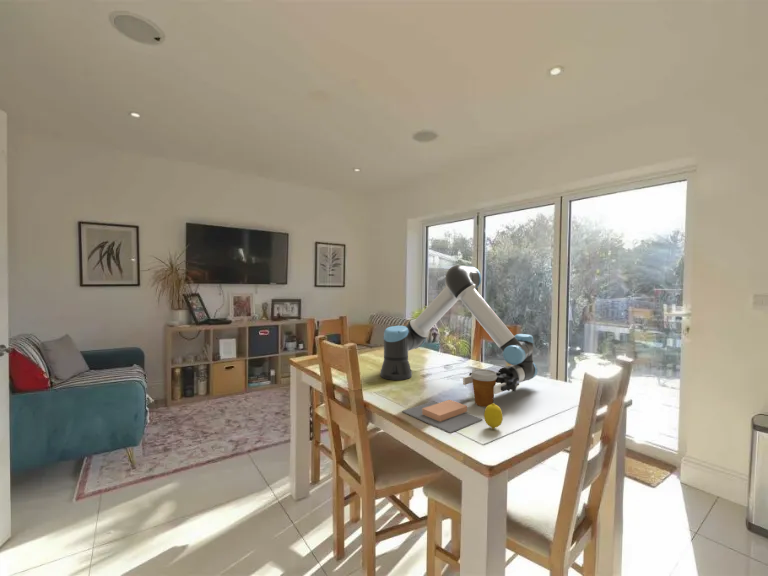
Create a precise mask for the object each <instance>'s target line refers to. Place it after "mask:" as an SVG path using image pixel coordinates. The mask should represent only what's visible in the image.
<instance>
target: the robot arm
mask: <svg viewBox="0 0 768 576" xmlns="http://www.w3.org/2000/svg"><path fill="white" fill-rule="evenodd" d="M481 284H482V273H481V272H480V271H479V269H478V268H476V267H475V266H472V265H463V264H462V265H461V264H455V265H453V266H452V267H450V268H449V269H447V271H446V274H445V287H444V288H443V289H442V290H441V291H440V292H439V293H438V295H437V296H436V297H435V298H434V299H433V300H432V301H431V302H429V304H428V305H427V306H426V308H424V310H423V311H422V312H421V313H420V314H419V315H418V316H417V317H416V318H415V319H413V318H412V319H411V320H410V321H408V323H407V324H406V325H395V326H393V325H392V326H388V327H386V328H385V329H384V331H383V362H382V365H381V369H380V371H379V374H380V375H379V376H380V377H381V378H382V379H386V380H388V381H403V380H409V379H410V378H412V376H413V373H412V372H413V371H412V369H411V365H410V361H409V351H412V350H415V349H416V350H417V349H418V348H420V347H421V346H423V345H424V344H425V342H426V341H427V338H428V336H429V333H430V330H431V329H432V328H433V327H434V326H435V325H436V324H437V323H438V322H439V321H440V320H441V319H442V318H443V316H444V315H445V314H446V313H448V311H449V310H451V308H452V307H454V306H455V304H456V303H458V301H461V302H462V303H463V305H464V306H465V307H466V308H467V310H468V311H469V312H470V313H471V315H472V316H473V317H474V318H475V319H476V321H477V322H478V323H479V324H480V326H481V327H482V328H483V329H484V331H485V332H486V333H487V334H488V335H489V337H490V338H491V340H492V341H493V342H494V343H495V344H496V346H497V347H498V348H499V349H500V351H501V352H502V357H503V360H504V361H505V362H506V363H507V364H509V365H507V366H504V367H500V369H499V370H498V371H497V372H496V371H495V372H496V375H497V379H496V384H495V386H494V395H497V394H500V393H503V392H505V391H512V392H516V391H517V387H518V386H519V385H520V383H523V382H525V381H531V380H532V379H533V378H535V377H536V376H537V375H538V371H539V370H538V368H537V364H535V362H534V345H535V343H534V337H533V335H532V334H528V333H527V334H525V333H517V334H515V335H514V334H513V332H511V330H510V329H509V328H508V327H507V325H506V324H505V323H504V322H503V320H502V319H501V318H500V316H498V315H497V314H496V312H495V311H494V310H493V308H492V307H491V306H490V305H489V303H488V302H487V301H486V300H485V299H484V297H482V295H481V294H480V293H479V291H478V290H477V289H478V288H479V287H480V285H481ZM471 374H472V372H469V375H468V376H463V377H462V385H464V386H466V385H469V384H473V380H472V376H471Z"/></svg>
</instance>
